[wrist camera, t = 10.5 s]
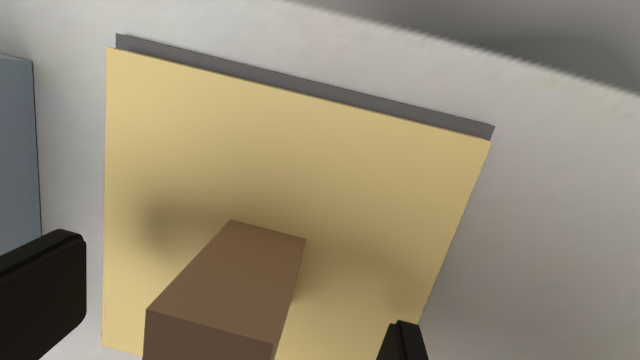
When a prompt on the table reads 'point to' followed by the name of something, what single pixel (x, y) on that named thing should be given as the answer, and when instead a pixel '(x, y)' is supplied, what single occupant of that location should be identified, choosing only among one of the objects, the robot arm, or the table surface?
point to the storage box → (17, 156)
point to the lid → (267, 216)
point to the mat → (305, 86)
